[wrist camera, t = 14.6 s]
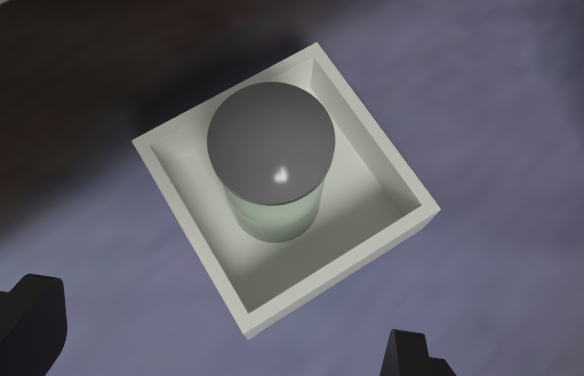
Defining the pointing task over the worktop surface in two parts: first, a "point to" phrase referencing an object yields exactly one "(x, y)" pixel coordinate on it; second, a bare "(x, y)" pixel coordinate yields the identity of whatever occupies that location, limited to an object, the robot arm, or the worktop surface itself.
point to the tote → (332, 212)
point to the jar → (272, 158)
